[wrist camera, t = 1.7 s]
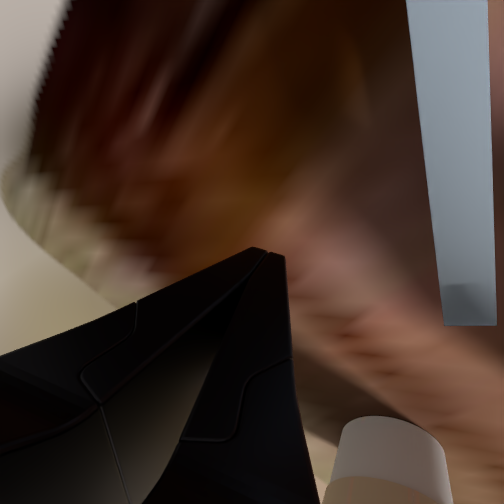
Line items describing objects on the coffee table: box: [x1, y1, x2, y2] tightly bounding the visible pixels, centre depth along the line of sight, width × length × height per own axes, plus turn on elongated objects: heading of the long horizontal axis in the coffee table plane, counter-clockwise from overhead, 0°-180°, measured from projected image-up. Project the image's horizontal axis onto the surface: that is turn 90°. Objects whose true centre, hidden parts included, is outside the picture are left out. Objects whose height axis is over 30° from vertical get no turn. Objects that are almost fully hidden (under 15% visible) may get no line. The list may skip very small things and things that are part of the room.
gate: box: [406, 0, 497, 326], centre depth 9 cm, size 11×1×6 cm, turn 20°
